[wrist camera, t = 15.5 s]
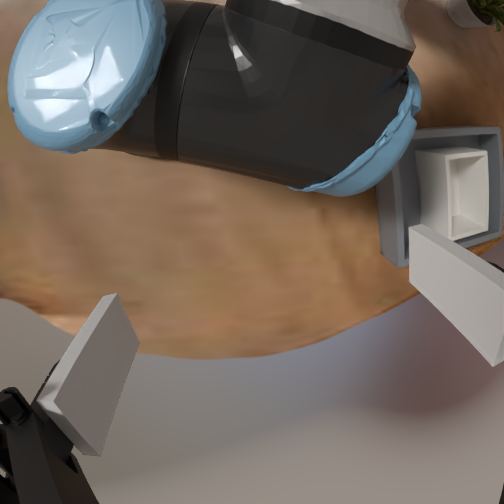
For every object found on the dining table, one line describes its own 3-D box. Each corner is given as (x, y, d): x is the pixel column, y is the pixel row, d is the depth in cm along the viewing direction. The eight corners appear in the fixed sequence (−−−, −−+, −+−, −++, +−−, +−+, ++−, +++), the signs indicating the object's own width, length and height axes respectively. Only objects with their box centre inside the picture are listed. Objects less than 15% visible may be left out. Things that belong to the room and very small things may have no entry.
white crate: (414, 150, 36) (444, 155, 29) (455, 145, 36) (487, 150, 29) (420, 226, 40) (447, 242, 33) (459, 216, 40) (488, 230, 33)
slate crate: (367, 133, 36) (386, 133, 31) (477, 125, 36) (500, 127, 30) (380, 253, 42) (398, 268, 37) (481, 225, 42) (502, 236, 36)
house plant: (497, 23, 28) (559, 10, 13) (483, 72, 32) (556, 66, 17) (440, -32, 25) (497, -63, 10) (421, 13, 29) (490, -18, 14)
